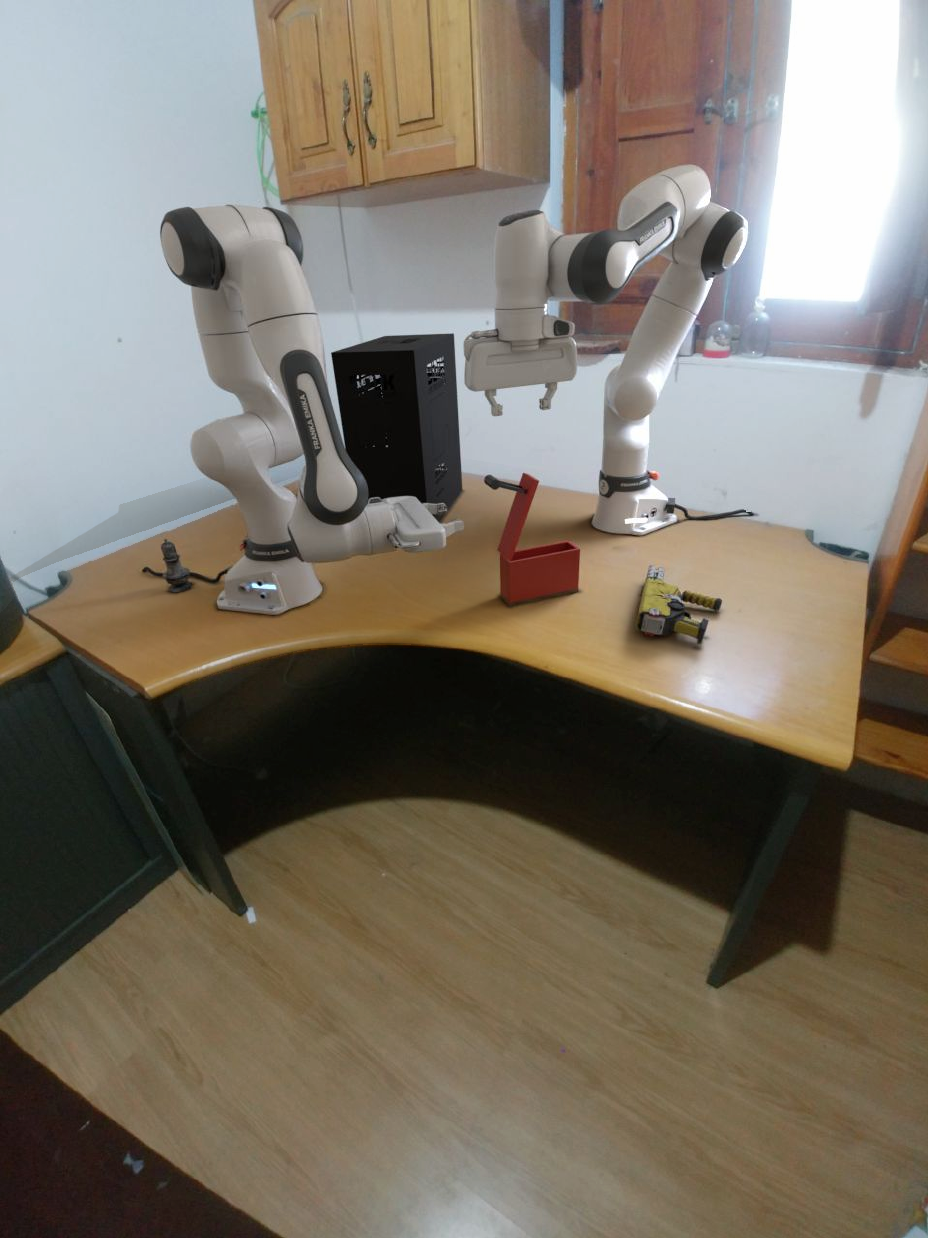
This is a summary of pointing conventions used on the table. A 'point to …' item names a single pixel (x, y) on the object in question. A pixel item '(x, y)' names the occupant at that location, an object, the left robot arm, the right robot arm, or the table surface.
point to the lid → (514, 510)
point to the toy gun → (670, 608)
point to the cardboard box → (402, 416)
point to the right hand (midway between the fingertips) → (521, 412)
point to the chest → (539, 573)
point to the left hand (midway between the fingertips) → (454, 515)
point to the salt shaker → (175, 569)
